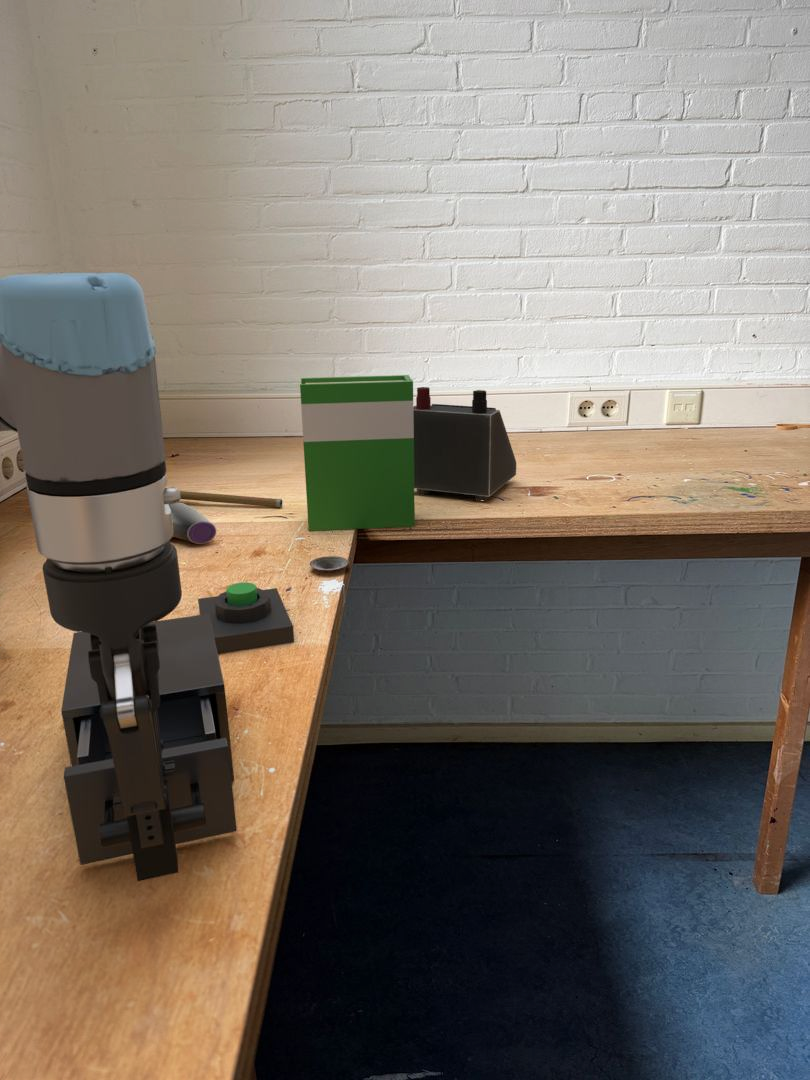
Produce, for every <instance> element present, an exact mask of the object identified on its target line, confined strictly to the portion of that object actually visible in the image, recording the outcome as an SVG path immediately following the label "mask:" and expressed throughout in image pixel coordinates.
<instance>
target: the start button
mask: <svg viewBox="0 0 810 1080" xmlns="http://www.w3.org/2000/svg"><path fill="white" fill-rule="evenodd" d="M257 588H258V587H257V585H256V584H255V583H253V582H249V581H247V582H246V581H244V582H242V581H241V582H236V583H232V584H229V585H228V586H227V587H226V590H225V592H226V593H227V603H228V604H230V605H237V606H241V605H249V604H251V603H254V602H256V601H257V600H258V598H257Z"/></svg>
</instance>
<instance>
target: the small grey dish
mask: <svg viewBox="0 0 810 1080" xmlns="http://www.w3.org/2000/svg"><path fill="white" fill-rule="evenodd" d="M309 562H310V563H309V566H310V567H311V568H313V569H315V570H318V571H325V572H326V573H327V572H333V571H335V570H340V569H343V568H345V567H347V566H348V565H349V563H350V560H348V559H347V558H346V557H343V556H336V555H328V556H327V555H326V556H321V557H317V558H315V559H312V560H311V561H309Z"/></svg>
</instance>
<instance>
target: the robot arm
mask: <svg viewBox="0 0 810 1080" xmlns="http://www.w3.org/2000/svg"><path fill="white" fill-rule="evenodd" d="M156 353H157V351H156V343H155V339H154V336H153V334H152V333H151V330H150V324H149V317H148V311H147V304H146V299H145V293H144V290H143V288H142V287H141V285H140V283H139V282H138V281H137V280H136V279H135V278H134V277H132V276H131V275H129V274H127V273H123V272H102V273H100V272H59V273H26V274H24V273H23V274H11V275H7V276H4V277H2V278H1V279H0V432H6V431H7V432H9V431H13V432H16V433H17V437H18V442H19V447H20V452H21V457H22V462H23V467H24V471H25V473H24V475H25V480H26V491H27V497H28V502H29V508H30V509H29V510H30V513H31V514H30V515H31V518H32V520H31V521H32V524H33V531H34V536H35V537H34V538H35V542H36V547H37V551H38V553H39V554H40V555H41V556H43V557H44V558H45V559H46V560H45V561H44V562H43V565H42V574H43V579H44V585H45V590H46V596H47V601H48V602H47V603H48V607H49V612H50V616H51V618H52V619H53V621H54V622H55V623H56V624H57V625H59V626H60V627H62V628H63V629H66V630H68V631H72V632H75V633H76V632H86V633H90V640H91V648H92V650H90V651H88V659H89V667H90V673H91V677H92V679H93V680H94V681H95V682H96V683H97V687H98V693H99V699H100V705H101V709H100V716H101V718H103V721H104V725H105V728H106V731H107V734H108V738H109V743H110V748H111V753H112V757H113V762H114V767H115V772H116V777H117V782H118V787H119V792H120V794H115V795H113V809H114V810H117V809H121V811H123V815H124V816H125V817H127V821H128V827H129V833H130V839H131V845H132V852H133V854H132V857H133V863H134V869H135V876H136V882H143V881H147V880H151V879H155V878H156V879H157V878H160V877H166V876H169V875H173V874H178V873H179V859H178V858H179V857H178V851H177V844H176V843H175V836H174V828H173V821H172V814H171V807H170V799H169V792H168V785H167V780H166V781H164V780H163V777H164V776H169V775H174V774H176V773H175V763H174V760H173V761H168V762H163V760H162V751H163V748H164V746H163V741H162V740H161V739H160V731H159V723H158V715H157V709H159V707H160V691H159V673H158V670H159V667H160V663H159V652H158V636H157V628H156V624H149V623H150V622H154V621H161V619H162V620H163V618H165V617H167V616H168V615H169V614H171V613H172V612H173V611H174V610H175V609H176V608H177V607H178V606H179V604H180V603H181V600H182V596H183V592H182V581H181V575H180V567H179V566H180V565H179V558H178V550H177V548H176V546H175V545H174V544H173V543H172V542H171V541H170V540H171V539H172V538H171V537H172V536H173V523H172V515H171V509H170V507H169V505H170V504H175V503H180V501H181V500H182V499H181V493H180V492H179V491H180V490H179V488H178V487H176V486H170V487H167V485H168V477H167V465H166V451H165V442H164V433H163V432H164V431H163V422H162V414H161V413H162V412H161V404H160V403H161V402H160V393H159V384H158V383H159V382H158V373H157V365H156V364H157V363H156ZM148 624H149V625H148Z"/></svg>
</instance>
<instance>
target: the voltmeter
mask: <svg viewBox="0 0 810 1080" xmlns="http://www.w3.org/2000/svg"><path fill="white" fill-rule="evenodd" d="M430 390H431V389H430V387H428V386H421V387H417V388H416V397H415V399H416V400H415V405H413V418H414V489H416V492H417V494H418V493H419V494H418V495H421V494H425V495H428V494H429V493H430V491H435V492H444V493H453V494H463V495H472V496H475V500H476V499H477V500H486V499H488V500H489V498H490V497H491V496H492V495H493V494H495V493H496V492H497V491H498V490H500V489H501V488H502V487H503V486H505V485H507V484H508V483H509V481H510V480H511V479H513V478H515V476H517V460H516V457H515V453H514V450H513V447H512V444H511V441H510V438H509V435H508V431H507V429H506V426H505V422H504V419H503V416H502V413H501V410H500V409H497V408H496V407H488V400H487V391H486V390H483V389H482V390H481V389H477V390H473V391H472V400H471V405H457V404H440V403H439V404H438V403H431V395H430ZM506 483H507V484H506ZM504 484H505V485H504ZM427 493H428V494H427ZM477 500H476V501H477Z"/></svg>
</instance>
